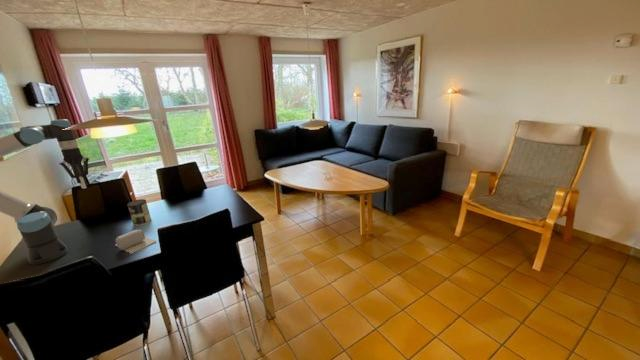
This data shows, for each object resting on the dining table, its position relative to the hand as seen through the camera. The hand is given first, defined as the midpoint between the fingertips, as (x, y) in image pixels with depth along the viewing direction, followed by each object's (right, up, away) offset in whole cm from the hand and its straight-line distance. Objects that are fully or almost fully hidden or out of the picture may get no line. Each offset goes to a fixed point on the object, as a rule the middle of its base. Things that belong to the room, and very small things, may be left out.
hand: (84, 187), depth 156 cm
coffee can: (+20, -23, +21) cm, 37 cm away
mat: (+34, -31, -6) cm, 47 cm away
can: (+30, -30, -14) cm, 45 cm away
